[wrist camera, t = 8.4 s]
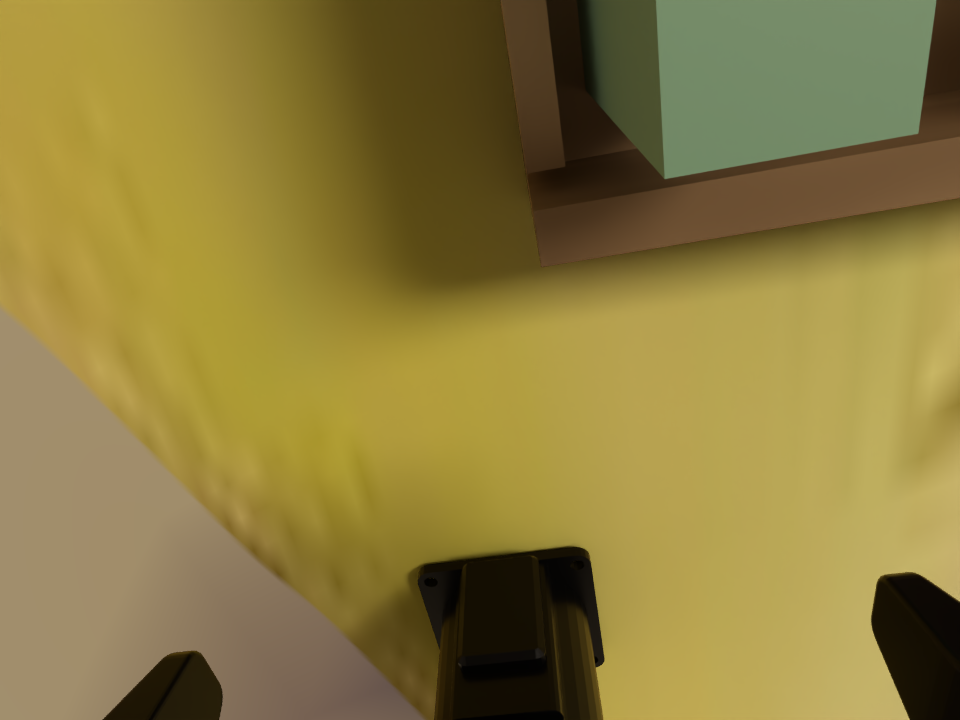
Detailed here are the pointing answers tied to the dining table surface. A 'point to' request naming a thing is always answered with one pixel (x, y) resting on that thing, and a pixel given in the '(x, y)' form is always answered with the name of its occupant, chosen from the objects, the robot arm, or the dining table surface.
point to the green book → (755, 75)
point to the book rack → (708, 195)
